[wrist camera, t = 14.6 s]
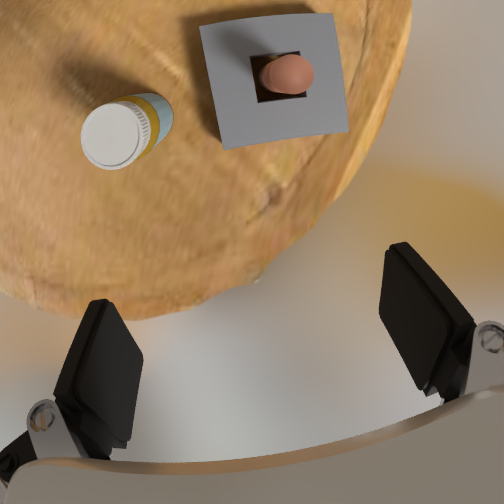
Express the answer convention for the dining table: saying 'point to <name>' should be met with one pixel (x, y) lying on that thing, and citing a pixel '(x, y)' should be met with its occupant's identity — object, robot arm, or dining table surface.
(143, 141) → the bottle
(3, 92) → the dining table surface
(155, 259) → the dining table surface
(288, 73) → the peg
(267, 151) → the dining table surface
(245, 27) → the socket block
